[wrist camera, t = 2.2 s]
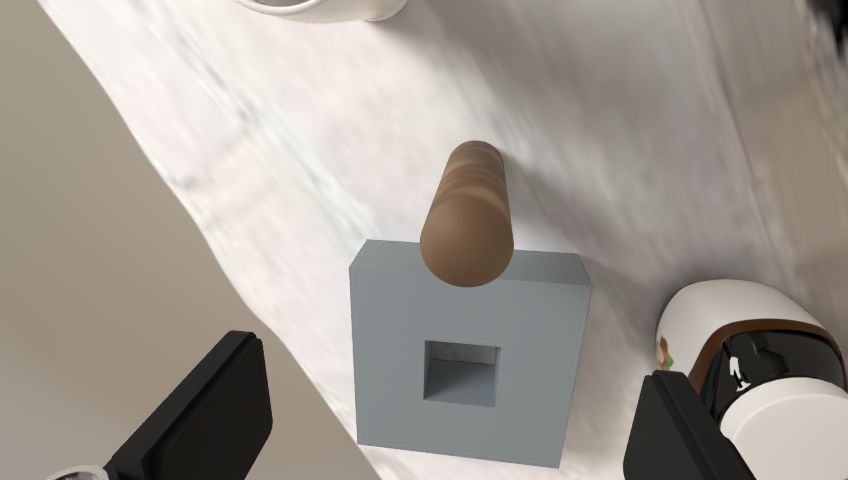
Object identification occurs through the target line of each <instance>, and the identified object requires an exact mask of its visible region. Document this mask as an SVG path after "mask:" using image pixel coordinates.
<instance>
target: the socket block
mask: <svg viewBox="0 0 848 480" xmlns="http://www.w3.org/2000/svg"><path fill="white" fill-rule="evenodd" d="M349 277H350V298H351V319H352V340H353V361H354V382H355V403H356V424H357V444H360V445H368V446H377V447H385V448H393V449H401V450H410V451H418V452H426V453H434V454H442V455H451V456H459V457H467V458H475V459H484V460H492V461H500V462H508V463H516V464H525V465H533V466H541V467H549V468H558V469H559V465H560V460H561V454H562V449H563V443H564V438H565V432H566V427H567V422H568V416H569V411H570V405H571V400H572V394H573V389H574V384H575V378H576V373H577V367H578V362H579V356H580V351H581V345H582V340H583V335H584V329H585V324H586V318H587V313H588V307H589V302H590V297H591V291H592V284H591V282H590V279H589V277H588V275H587V273H586V270H585V268H584V266H583V264H582V262H581V259H580V257H579V255H578V254H568V253H554V252H539V251H525V250H513V255H512V258H511V261H510V263H509V265H508V267H507V268H506V269H505V271H504V272H503V273H502V274H501V275H500V276H499V277H498V278H496V279H495V280H493V281H492V282H489V283H487V284H485V285H482V286H478V287H470V288H469V287H457V286H454V285H451V284H448V283H446V282H444V281H442V280H440V279H439V278H437V277H436V276H435V275H434V274H433V273H432V272H431V271H430V270H429V269H428V267H427V266H426V264H425V262H424V260H423V258H422V255H421V250H420V243H411V242H396V241H382V240H368V239H367V240H366V242H365V243H364V245H363V246H362V248H361V250H360V251H359V253H358V254H357V256H356V257H355V259H354V260H353V262H352V263H351V265H350V267H349ZM431 341H441V342H452V343H462V344H473V345H484V346H494V347H496V355H495V365H487V364H477V363H467V362H456V361H446V360H436V359H431Z"/></svg>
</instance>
